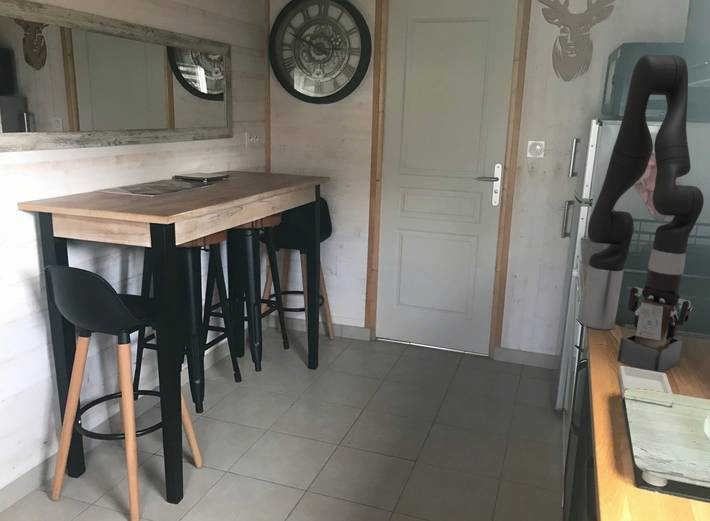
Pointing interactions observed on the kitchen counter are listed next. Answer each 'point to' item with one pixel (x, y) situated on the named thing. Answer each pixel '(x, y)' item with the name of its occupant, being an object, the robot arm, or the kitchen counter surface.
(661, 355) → the sleeve
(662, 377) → the tray
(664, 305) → the coffee box
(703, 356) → the kitchen counter surface
